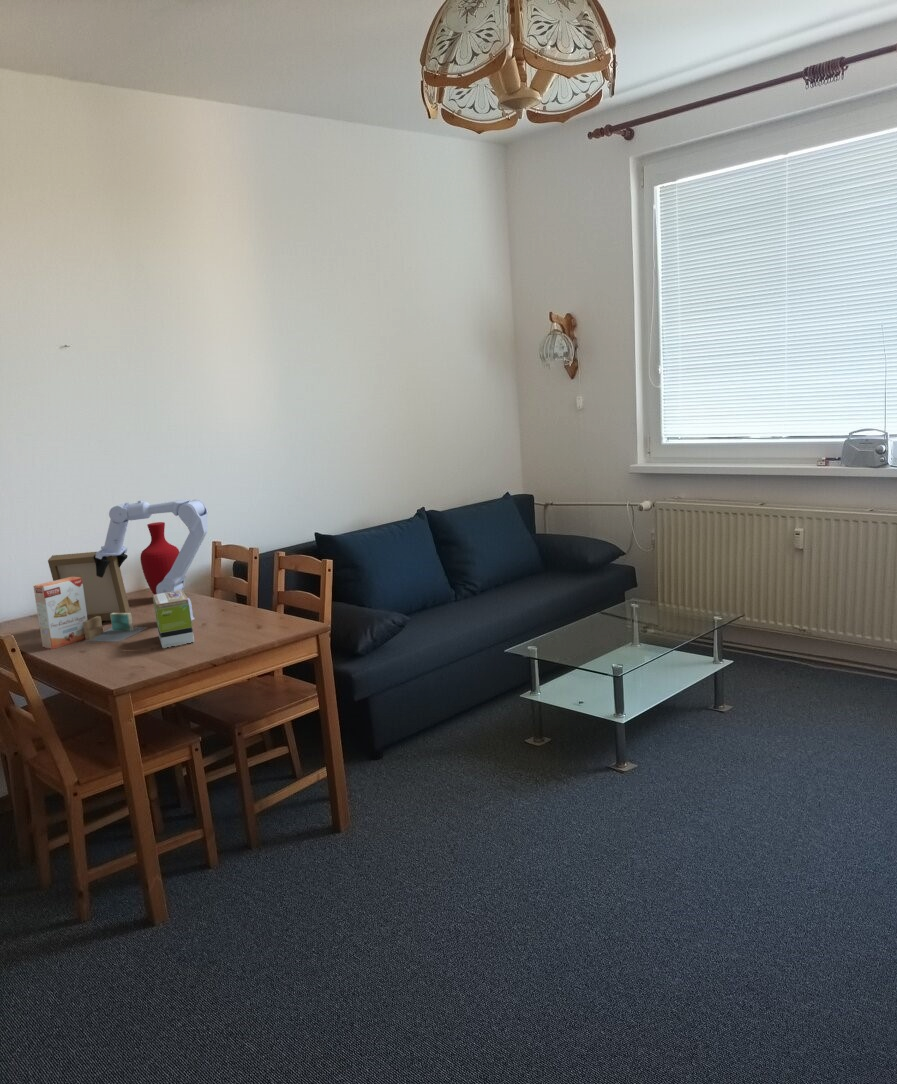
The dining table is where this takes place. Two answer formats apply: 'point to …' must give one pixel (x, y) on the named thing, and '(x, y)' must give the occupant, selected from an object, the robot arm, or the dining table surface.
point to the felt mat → (116, 635)
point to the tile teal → (121, 621)
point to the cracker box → (61, 611)
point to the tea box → (173, 618)
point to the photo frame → (93, 583)
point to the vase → (157, 556)
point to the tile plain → (93, 627)
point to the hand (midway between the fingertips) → (106, 574)
